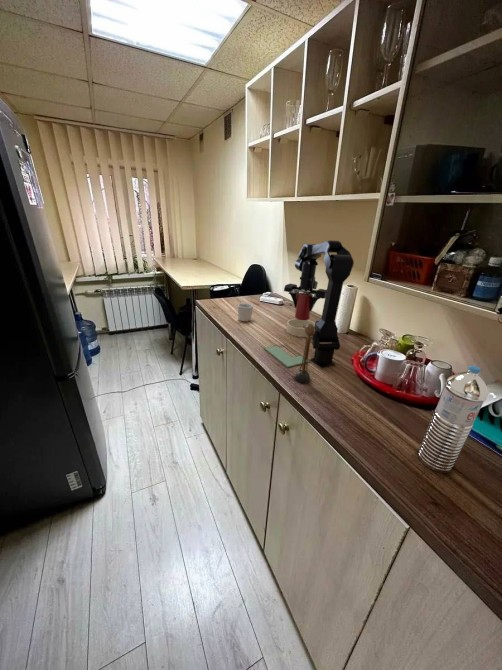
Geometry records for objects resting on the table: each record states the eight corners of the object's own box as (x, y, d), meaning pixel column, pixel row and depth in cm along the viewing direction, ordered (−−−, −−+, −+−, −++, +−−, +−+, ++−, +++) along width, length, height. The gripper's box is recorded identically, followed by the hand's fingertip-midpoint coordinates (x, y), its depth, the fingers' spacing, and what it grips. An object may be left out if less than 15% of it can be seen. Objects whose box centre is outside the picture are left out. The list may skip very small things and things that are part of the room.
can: (312, 319, 123) (316, 295, 119) (300, 321, 120) (304, 296, 116) (303, 314, 128) (306, 292, 124) (291, 316, 125) (294, 293, 121)
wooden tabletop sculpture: (291, 374, 94) (298, 320, 86) (303, 373, 96) (311, 319, 88) (299, 384, 89) (308, 327, 81) (311, 382, 91) (321, 326, 83)
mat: (309, 362, 103) (309, 361, 103) (287, 367, 99) (287, 366, 99) (284, 345, 116) (284, 344, 116) (264, 349, 112) (264, 348, 111)
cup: (232, 316, 145) (233, 301, 142) (246, 315, 149) (247, 300, 145) (240, 323, 136) (241, 308, 133) (254, 321, 140) (255, 306, 137)
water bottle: (438, 450, 66) (477, 359, 56) (458, 474, 60) (507, 377, 50) (410, 449, 66) (446, 358, 56) (428, 474, 59) (472, 376, 50)
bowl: (322, 335, 128) (323, 327, 127) (298, 340, 122) (299, 331, 120) (303, 325, 140) (304, 317, 138) (280, 329, 133) (281, 320, 131)
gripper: (334, 275, 119) (328, 309, 125) (295, 269, 127) (291, 301, 133) (327, 278, 110) (321, 315, 116) (285, 272, 118) (281, 306, 124)
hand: (303, 309), depth 123 cm, fingers closed on can, 6 cm apart
